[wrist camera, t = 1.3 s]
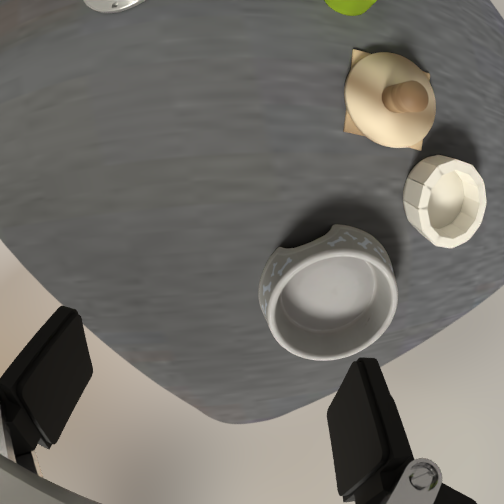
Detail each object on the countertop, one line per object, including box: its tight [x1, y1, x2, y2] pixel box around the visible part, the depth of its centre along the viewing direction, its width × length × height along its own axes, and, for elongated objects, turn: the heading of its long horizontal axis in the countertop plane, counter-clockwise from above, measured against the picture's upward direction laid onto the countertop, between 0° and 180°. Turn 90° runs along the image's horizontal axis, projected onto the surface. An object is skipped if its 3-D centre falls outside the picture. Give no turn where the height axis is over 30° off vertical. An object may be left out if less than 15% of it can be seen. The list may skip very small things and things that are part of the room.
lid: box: [344, 52, 436, 148], centre depth 25 cm, size 11×11×6 cm
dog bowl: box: [259, 224, 398, 360], centre depth 36 cm, size 17×18×5 cm
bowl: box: [403, 155, 486, 248], centre depth 30 cm, size 10×10×4 cm
